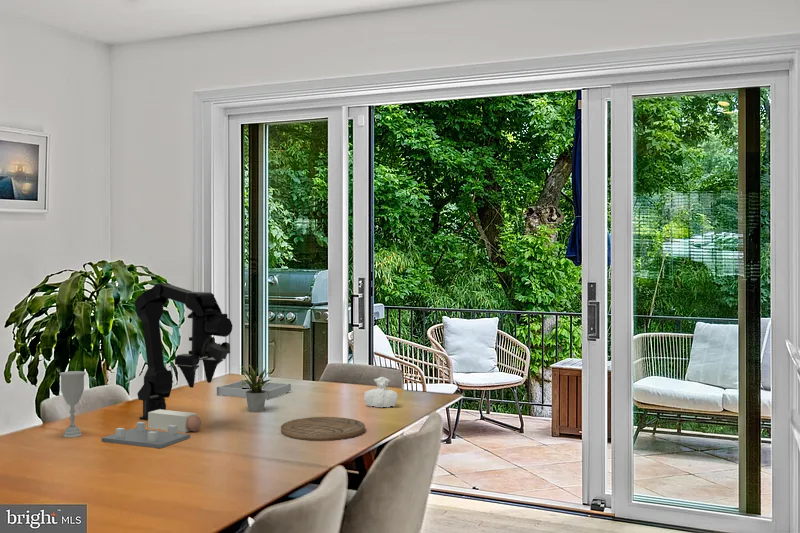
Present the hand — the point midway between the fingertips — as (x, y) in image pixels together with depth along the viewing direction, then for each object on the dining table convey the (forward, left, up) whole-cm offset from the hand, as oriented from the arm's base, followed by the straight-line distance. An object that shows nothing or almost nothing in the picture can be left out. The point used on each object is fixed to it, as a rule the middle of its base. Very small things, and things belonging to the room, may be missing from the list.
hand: (200, 385), depth 225 cm
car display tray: (-15, +55, -13) cm, 58 cm away
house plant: (+1, +28, -13) cm, 31 cm away
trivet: (+37, +10, -13) cm, 40 cm away
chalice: (-27, -23, -13) cm, 38 cm away
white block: (-6, -5, -13) cm, 15 cm away
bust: (+39, +51, -13) cm, 65 cm away
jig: (-4, -19, -13) cm, 23 cm away
